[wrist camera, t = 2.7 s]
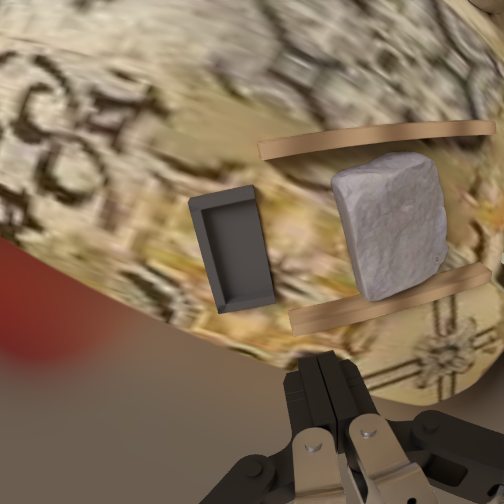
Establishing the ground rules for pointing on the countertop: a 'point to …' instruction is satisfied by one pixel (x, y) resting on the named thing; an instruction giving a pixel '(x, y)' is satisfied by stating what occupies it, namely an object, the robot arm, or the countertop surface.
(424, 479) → the robot arm
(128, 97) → the countertop surface
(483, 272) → the channel
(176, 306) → the countertop surface
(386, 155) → the stone block
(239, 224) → the dark gray shallow tray
